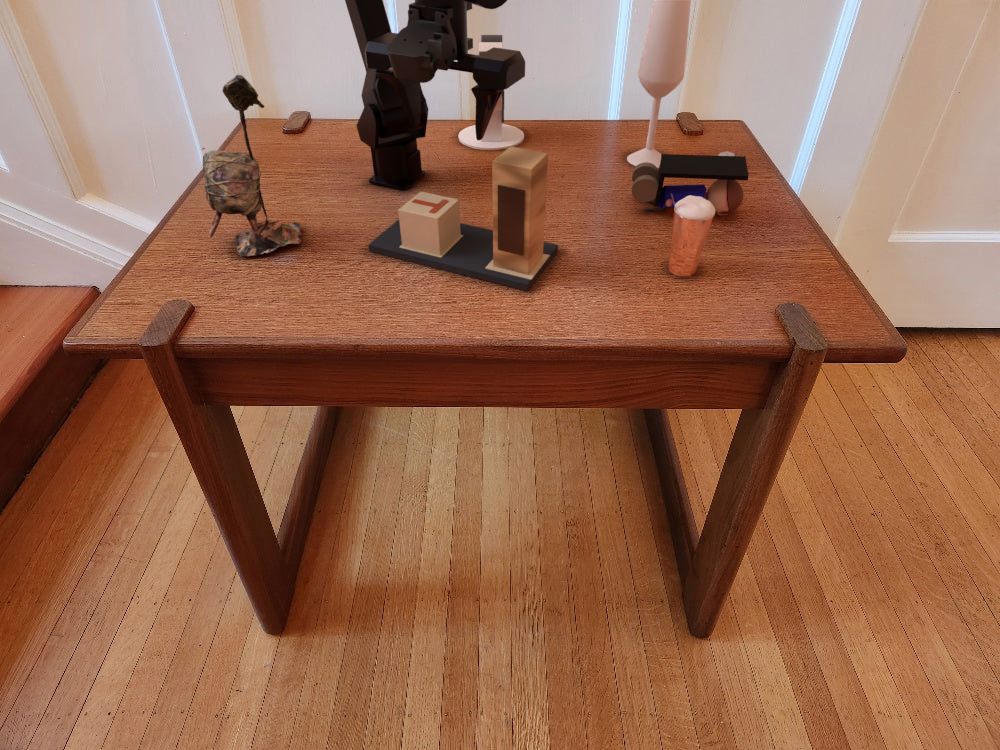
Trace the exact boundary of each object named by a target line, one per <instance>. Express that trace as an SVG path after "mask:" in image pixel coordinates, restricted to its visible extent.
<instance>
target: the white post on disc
mask: <svg viewBox="0 0 1000 750" xmlns="http://www.w3.org/2000/svg"><path fill="white" fill-rule="evenodd" d="M493 47H495V48H502V49H503V34H480V41H479V43H478V54H477V55H481V54H483V53H485V52H486V51H488V50H490V49H492V48H493ZM457 137H458V141H459V142H460V143H461V144H462V145H464V146H466V147H468V148H471V149H475V150H480V151H481V150H482V151H499V150H507V149H508V148H509V147H516V146H519V145H520V144H522V143H523V141H524V140H525V133H524V132H523V130H521V129H520V128H518V127H516V126H513V125H510V124H505V90H503V92H502V94H501V96H500V98H499V100H498V102H497V104H496V106H495V109H494V111H493V114H492V116H491V119H490V121H489V124H488V126H487V129H486V132H485V134H484V137H483V138H482V139H481V140H480V141H479V140H477V139H476V130H475V124H473V125H470V126H467V127H464V128H462V129H461V130H460V131H459V133H458V136H457Z"/></svg>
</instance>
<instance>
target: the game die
mask: <svg viewBox="0 0 1000 750" xmlns="http://www.w3.org/2000/svg"><path fill="white" fill-rule="evenodd" d="M717 156H736V153H734V152H730V151H722V152H719V153H718V154H717Z"/></svg>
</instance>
